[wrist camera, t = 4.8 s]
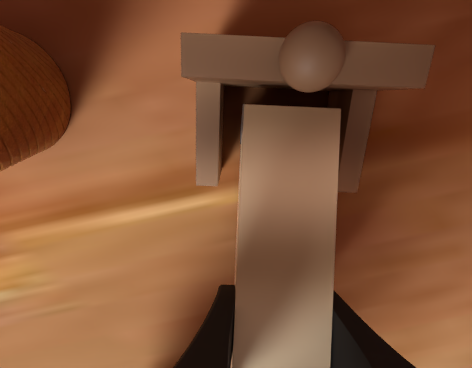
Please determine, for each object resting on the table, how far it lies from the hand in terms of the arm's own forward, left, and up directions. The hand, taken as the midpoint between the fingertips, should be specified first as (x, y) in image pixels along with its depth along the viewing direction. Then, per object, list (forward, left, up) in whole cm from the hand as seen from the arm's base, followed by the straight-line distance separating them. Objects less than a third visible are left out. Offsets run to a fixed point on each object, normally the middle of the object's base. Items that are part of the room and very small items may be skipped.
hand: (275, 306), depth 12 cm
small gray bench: (+7, 0, -6) cm, 9 cm away
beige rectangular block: (+1, 0, -4) cm, 4 cm away
